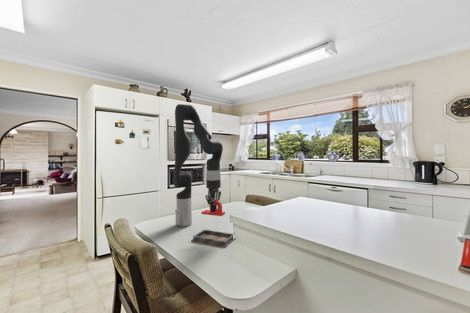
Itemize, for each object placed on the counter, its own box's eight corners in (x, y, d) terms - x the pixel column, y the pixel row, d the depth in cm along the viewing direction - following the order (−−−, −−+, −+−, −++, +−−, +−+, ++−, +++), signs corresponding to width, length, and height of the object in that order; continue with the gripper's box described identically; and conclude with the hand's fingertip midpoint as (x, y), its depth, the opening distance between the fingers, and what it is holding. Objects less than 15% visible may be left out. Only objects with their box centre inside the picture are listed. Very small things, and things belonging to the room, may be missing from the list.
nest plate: (191, 241, 115) (191, 236, 115) (204, 232, 127) (204, 228, 127) (225, 247, 107) (225, 243, 107) (236, 237, 118) (236, 233, 118)
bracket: (225, 213, 118) (224, 199, 118) (221, 216, 114) (220, 201, 114) (205, 211, 123) (205, 197, 123) (201, 213, 119) (201, 199, 119)
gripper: (213, 180, 108) (213, 215, 109) (225, 177, 121) (226, 209, 121) (200, 180, 111) (200, 214, 112) (213, 177, 124) (214, 207, 124)
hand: (213, 211), depth 116 cm, fingers closed on bracket, 1 cm apart
